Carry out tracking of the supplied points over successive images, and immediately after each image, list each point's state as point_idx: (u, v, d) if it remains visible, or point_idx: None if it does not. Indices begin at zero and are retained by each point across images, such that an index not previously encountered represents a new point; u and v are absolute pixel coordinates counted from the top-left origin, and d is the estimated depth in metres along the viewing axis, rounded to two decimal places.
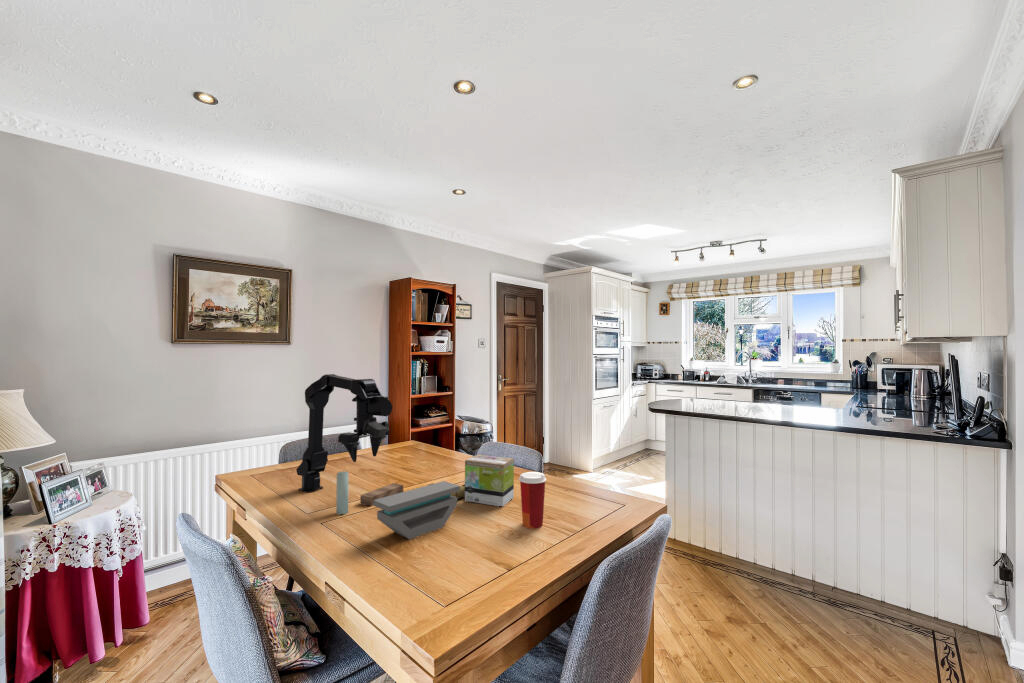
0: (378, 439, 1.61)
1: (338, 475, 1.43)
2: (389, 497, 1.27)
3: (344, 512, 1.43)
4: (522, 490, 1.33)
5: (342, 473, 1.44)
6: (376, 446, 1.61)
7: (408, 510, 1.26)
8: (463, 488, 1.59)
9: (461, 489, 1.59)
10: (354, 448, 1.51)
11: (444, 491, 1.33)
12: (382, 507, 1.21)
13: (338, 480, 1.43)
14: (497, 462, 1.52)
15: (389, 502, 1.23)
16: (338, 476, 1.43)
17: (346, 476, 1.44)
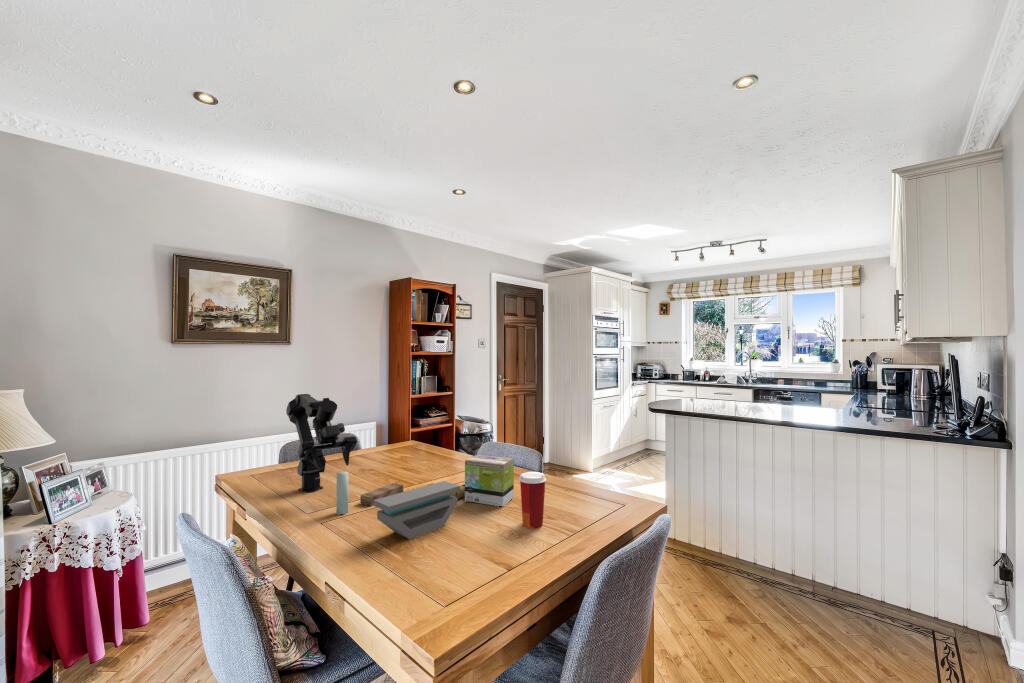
0: (345, 447, 1.57)
1: (338, 475, 1.43)
2: (389, 497, 1.27)
3: (344, 512, 1.43)
4: (522, 490, 1.33)
5: (342, 473, 1.44)
6: (346, 454, 1.56)
7: (408, 510, 1.26)
8: (463, 488, 1.60)
9: (461, 489, 1.59)
10: (313, 455, 1.49)
11: (444, 491, 1.33)
12: (382, 507, 1.21)
13: (338, 480, 1.43)
14: (497, 462, 1.52)
15: (389, 502, 1.22)
16: (338, 476, 1.43)
17: (346, 476, 1.44)
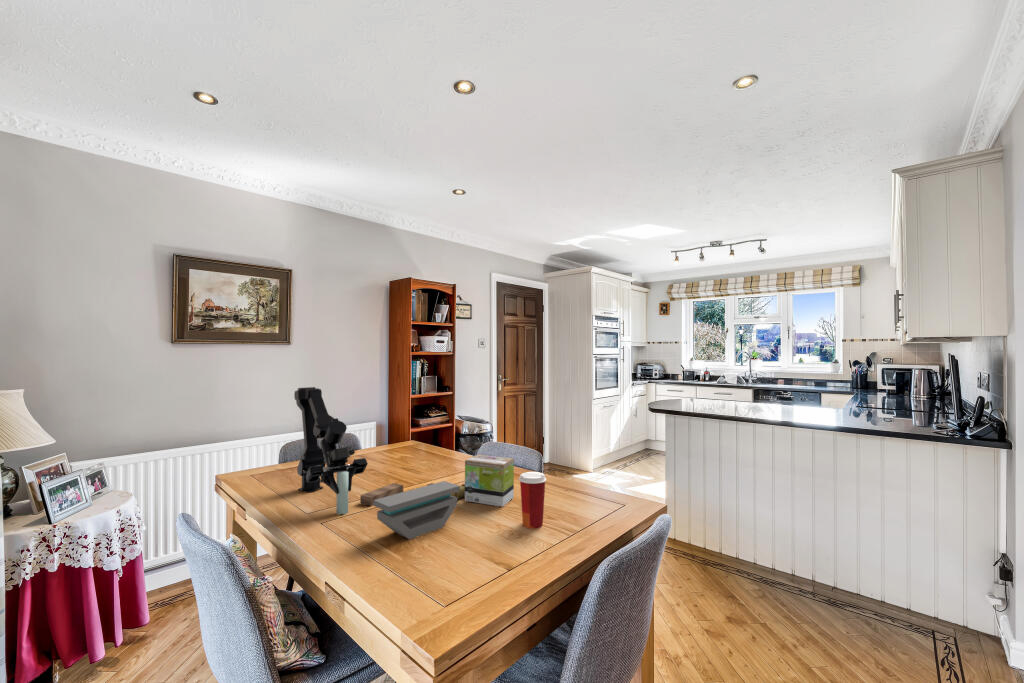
0: None
1: (338, 475, 1.43)
2: (389, 497, 1.27)
3: (344, 512, 1.43)
4: (522, 490, 1.33)
5: (342, 473, 1.44)
6: (348, 479, 1.47)
7: (408, 510, 1.26)
8: (462, 488, 1.60)
9: (460, 489, 1.59)
10: (330, 478, 1.43)
11: (444, 491, 1.33)
12: (382, 507, 1.21)
13: (338, 480, 1.43)
14: (497, 462, 1.52)
15: (389, 502, 1.22)
16: (338, 476, 1.43)
17: (346, 476, 1.44)
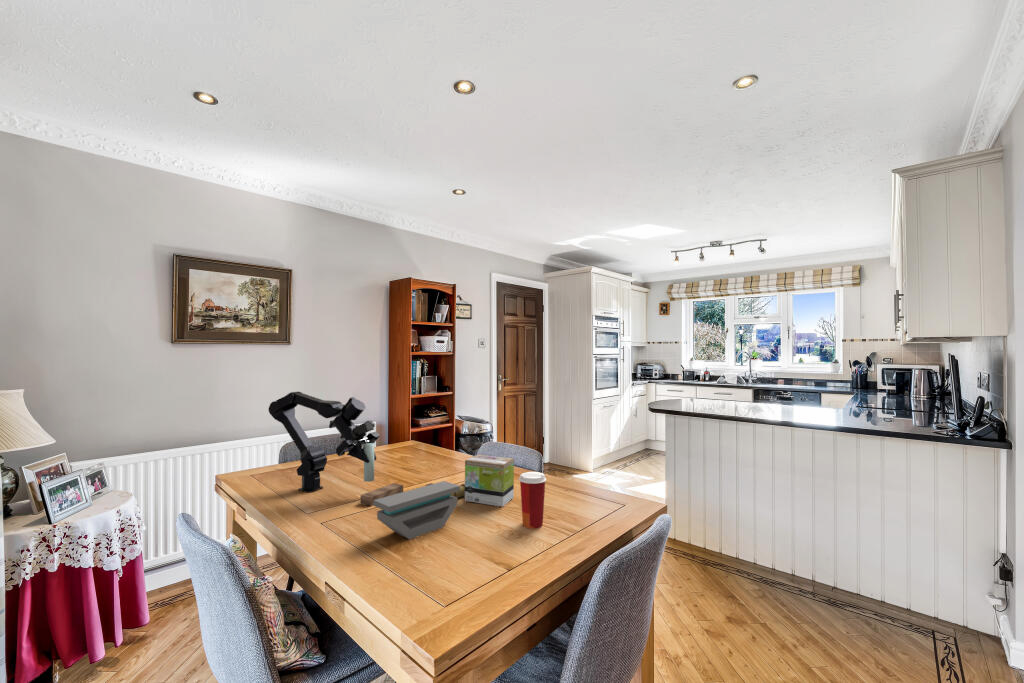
0: None
1: (368, 446, 1.60)
2: (389, 497, 1.27)
3: (373, 478, 1.61)
4: (522, 490, 1.33)
5: (370, 444, 1.61)
6: None
7: (408, 510, 1.26)
8: (461, 488, 1.60)
9: (460, 489, 1.59)
10: (360, 449, 1.59)
11: (444, 491, 1.33)
12: (382, 507, 1.21)
13: (368, 450, 1.60)
14: (497, 462, 1.52)
15: (389, 502, 1.22)
16: (368, 447, 1.60)
17: None
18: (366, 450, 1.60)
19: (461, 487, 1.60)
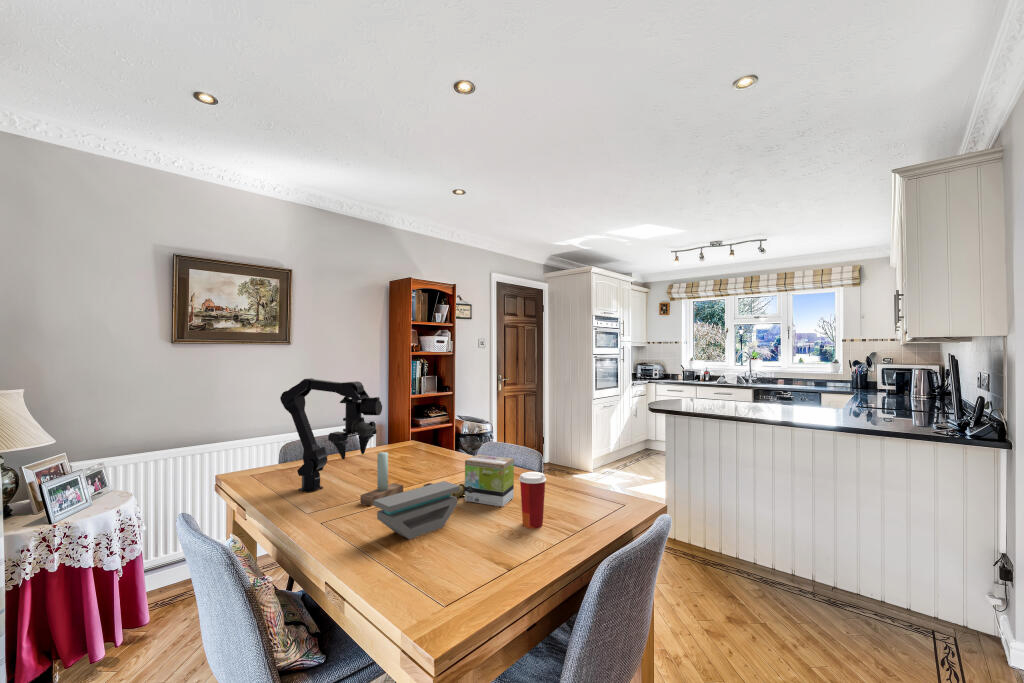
0: (366, 438, 1.72)
1: (381, 455, 1.58)
2: (389, 497, 1.27)
3: (386, 488, 1.59)
4: (522, 490, 1.33)
5: (383, 453, 1.59)
6: (364, 444, 1.72)
7: (408, 510, 1.26)
8: (460, 487, 1.60)
9: None
10: (343, 446, 1.62)
11: (444, 491, 1.33)
12: (382, 507, 1.21)
13: (382, 460, 1.58)
14: (497, 462, 1.52)
15: (389, 502, 1.22)
16: (381, 456, 1.58)
17: (387, 456, 1.60)
18: (380, 459, 1.58)
19: (460, 487, 1.61)
